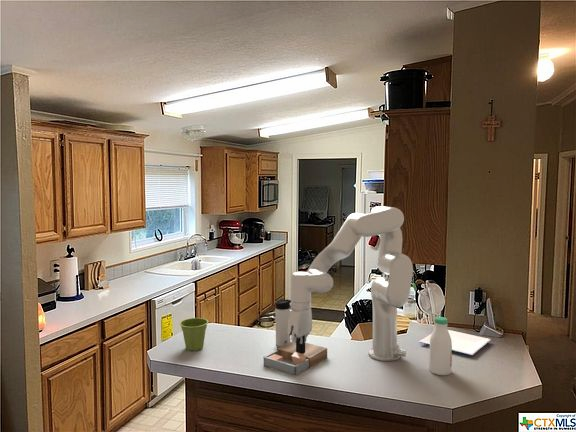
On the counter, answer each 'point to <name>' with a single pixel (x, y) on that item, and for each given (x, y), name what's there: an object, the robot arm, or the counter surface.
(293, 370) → the box
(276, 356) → the tile
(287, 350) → the brown piece
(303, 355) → the tile
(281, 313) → the travel mug
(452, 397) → the counter surface
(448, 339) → the milk bottle
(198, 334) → the plant pot
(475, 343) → the plate
